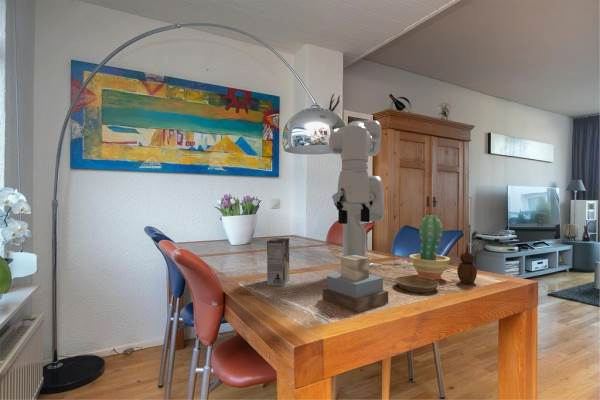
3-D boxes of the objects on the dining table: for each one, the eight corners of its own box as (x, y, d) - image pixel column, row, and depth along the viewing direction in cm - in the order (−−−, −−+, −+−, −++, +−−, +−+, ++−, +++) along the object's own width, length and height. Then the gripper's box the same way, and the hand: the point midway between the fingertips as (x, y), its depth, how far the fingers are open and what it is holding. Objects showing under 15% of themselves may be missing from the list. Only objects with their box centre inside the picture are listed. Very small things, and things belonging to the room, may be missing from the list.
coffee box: (273, 278, 120) (273, 237, 120) (289, 279, 119) (289, 238, 119) (266, 285, 111) (266, 240, 111) (283, 286, 110) (283, 241, 110)
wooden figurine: (470, 285, 112) (471, 244, 111) (454, 282, 116) (455, 242, 116) (479, 282, 116) (479, 242, 115) (463, 279, 120) (463, 241, 120)
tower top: (353, 282, 103) (353, 270, 103) (382, 291, 93) (383, 277, 93) (326, 288, 96) (326, 275, 96) (355, 298, 86) (356, 284, 86)
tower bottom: (354, 293, 104) (354, 281, 104) (388, 304, 93) (388, 291, 93) (322, 301, 96) (322, 288, 96) (355, 314, 85) (355, 300, 85)
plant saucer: (400, 280, 119) (400, 274, 119) (441, 286, 111) (441, 279, 111) (389, 290, 106) (389, 282, 106) (435, 297, 98) (435, 289, 98)
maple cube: (354, 273, 99) (354, 254, 98) (368, 277, 94) (369, 257, 94) (340, 276, 95) (340, 256, 95) (355, 280, 90) (355, 260, 90)
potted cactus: (458, 278, 121) (459, 215, 121) (433, 284, 114) (433, 216, 113) (425, 270, 135) (425, 213, 134) (400, 275, 127) (401, 214, 127)
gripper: (364, 169, 103) (364, 220, 103) (325, 166, 93) (324, 223, 93) (382, 167, 97) (382, 222, 97) (342, 164, 86) (342, 225, 87)
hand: (354, 222), depth 95 cm, fingers open, 9 cm apart
